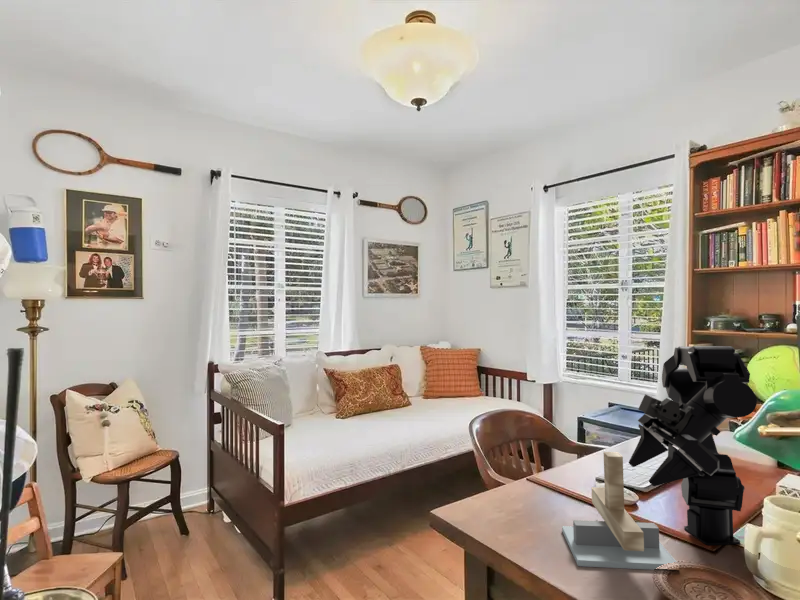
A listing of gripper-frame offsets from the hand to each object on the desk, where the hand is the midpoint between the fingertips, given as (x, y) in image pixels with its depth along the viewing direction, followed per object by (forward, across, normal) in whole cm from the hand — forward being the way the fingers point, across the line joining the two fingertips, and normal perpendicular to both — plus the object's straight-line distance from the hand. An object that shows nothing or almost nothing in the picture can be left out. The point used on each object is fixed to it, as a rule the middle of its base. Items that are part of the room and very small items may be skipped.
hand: (640, 474), depth 82 cm
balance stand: (+13, 0, +6) cm, 14 cm away
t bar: (+10, 0, +3) cm, 10 cm away
